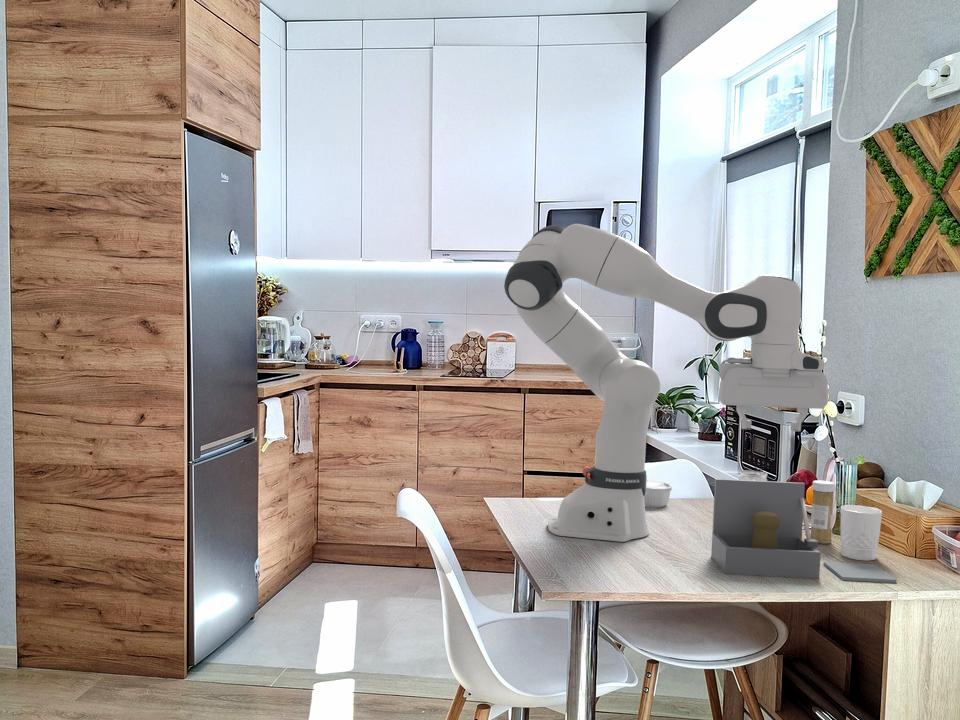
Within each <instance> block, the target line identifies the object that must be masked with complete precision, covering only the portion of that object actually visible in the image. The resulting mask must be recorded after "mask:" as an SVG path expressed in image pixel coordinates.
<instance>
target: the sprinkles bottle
mask: <svg viewBox="0 0 960 720" xmlns="http://www.w3.org/2000/svg"><path fill="white" fill-rule="evenodd" d="M811 485H812V501H811V502H812V503H811V513H810V514H811V516H810V518H811V519H810V536H811V539H815V540H816V541H818V544H823V545H824V544H825V545H826V544H831V543H832V531H833V529H832V528H833V516H834V515H833V512H834V511H833V509H834V506H833V504H834V493H835V490H836V487H835V482H833V481H830V480H823V479H822V480H821V479H820V480H818V479H817V480H813V481H812V484H811Z"/></svg>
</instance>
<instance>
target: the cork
mask: <svg viewBox="0 0 960 720" xmlns="http://www.w3.org/2000/svg"><path fill="white" fill-rule="evenodd" d="M752 524H753V526H754V532H753V538H752V543H751V548H762V549H778V545H777V533H776V530H777V529H778V527H779V524H780V519H779V516H778V515H777V514H776V513H773V512H769V511H757V512H755V513H754V514H753V516H752Z"/></svg>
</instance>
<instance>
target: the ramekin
mask: <svg viewBox="0 0 960 720" xmlns="http://www.w3.org/2000/svg"><path fill="white" fill-rule="evenodd" d="M672 489H673V486H672V485H671V484H670V483H667V482H663V481H658V480H649V479H648V480H647V482H646V492H645V496H644V504H645V508H663V507H666V506H667V505H668V503H669V500H670V495H671V491H672Z"/></svg>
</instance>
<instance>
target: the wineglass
mask: <svg viewBox="0 0 960 720" xmlns="http://www.w3.org/2000/svg"><path fill="white" fill-rule="evenodd" d="M738 473H739V477H738V479H737V480H753V481H768V479H767V476H769V475H768V474H769V473H767V472H764V471H759V470H746V469H744V470H739V471H738Z"/></svg>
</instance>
